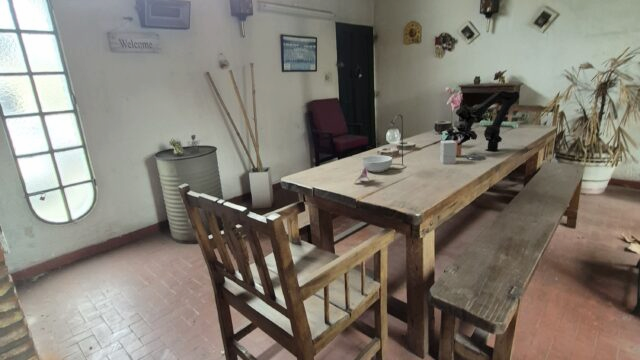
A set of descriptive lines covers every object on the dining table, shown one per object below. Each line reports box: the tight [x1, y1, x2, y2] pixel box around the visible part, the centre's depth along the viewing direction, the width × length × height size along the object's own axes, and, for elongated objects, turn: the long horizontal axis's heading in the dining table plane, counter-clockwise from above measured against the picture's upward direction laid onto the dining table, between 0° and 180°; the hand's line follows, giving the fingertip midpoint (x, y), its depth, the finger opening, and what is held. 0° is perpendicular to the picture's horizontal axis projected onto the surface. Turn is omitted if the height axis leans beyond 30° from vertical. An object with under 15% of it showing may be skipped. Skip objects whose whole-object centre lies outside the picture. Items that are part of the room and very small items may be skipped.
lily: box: [354, 167, 372, 183], centre depth 171 cm, size 12×12×10 cm
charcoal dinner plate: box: [465, 154, 485, 161], centre depth 204 cm, size 10×10×1 cm
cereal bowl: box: [361, 154, 393, 173], centre depth 191 cm, size 17×17×7 cm
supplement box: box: [439, 139, 457, 165], centre depth 198 cm, size 7×7×13 cm
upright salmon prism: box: [455, 139, 463, 157], centre depth 210 cm, size 4×4×8 cm
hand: (454, 144), depth 209 cm, fingers closed on upright salmon prism, 4 cm apart
